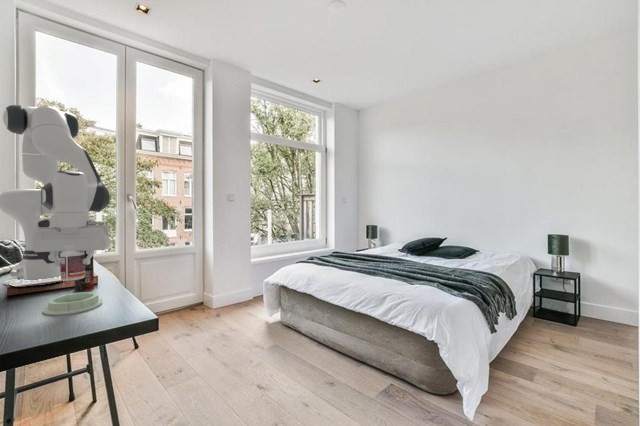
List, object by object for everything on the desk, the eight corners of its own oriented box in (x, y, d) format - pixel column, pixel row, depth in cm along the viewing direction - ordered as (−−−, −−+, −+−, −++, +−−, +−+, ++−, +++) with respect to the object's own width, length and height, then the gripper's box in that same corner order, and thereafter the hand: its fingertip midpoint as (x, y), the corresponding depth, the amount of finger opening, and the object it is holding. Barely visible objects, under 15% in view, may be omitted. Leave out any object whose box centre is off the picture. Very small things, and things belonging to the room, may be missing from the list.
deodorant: (83, 291, 119) (82, 251, 118) (70, 291, 120) (69, 251, 119) (97, 287, 124) (97, 249, 124) (85, 286, 126) (84, 249, 125)
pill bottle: (89, 276, 104) (88, 242, 104) (79, 280, 98) (78, 245, 98) (67, 277, 103) (66, 243, 103) (56, 281, 97) (55, 245, 97)
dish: (30, 312, 96) (30, 302, 96) (81, 298, 111) (81, 289, 111) (65, 317, 92) (64, 307, 92) (113, 302, 106) (113, 293, 106)
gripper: (112, 220, 106) (113, 261, 106) (40, 221, 101) (41, 264, 101) (104, 221, 100) (105, 265, 100) (27, 222, 95) (28, 268, 95)
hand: (72, 265), depth 101 cm, fingers closed on pill bottle, 6 cm apart
